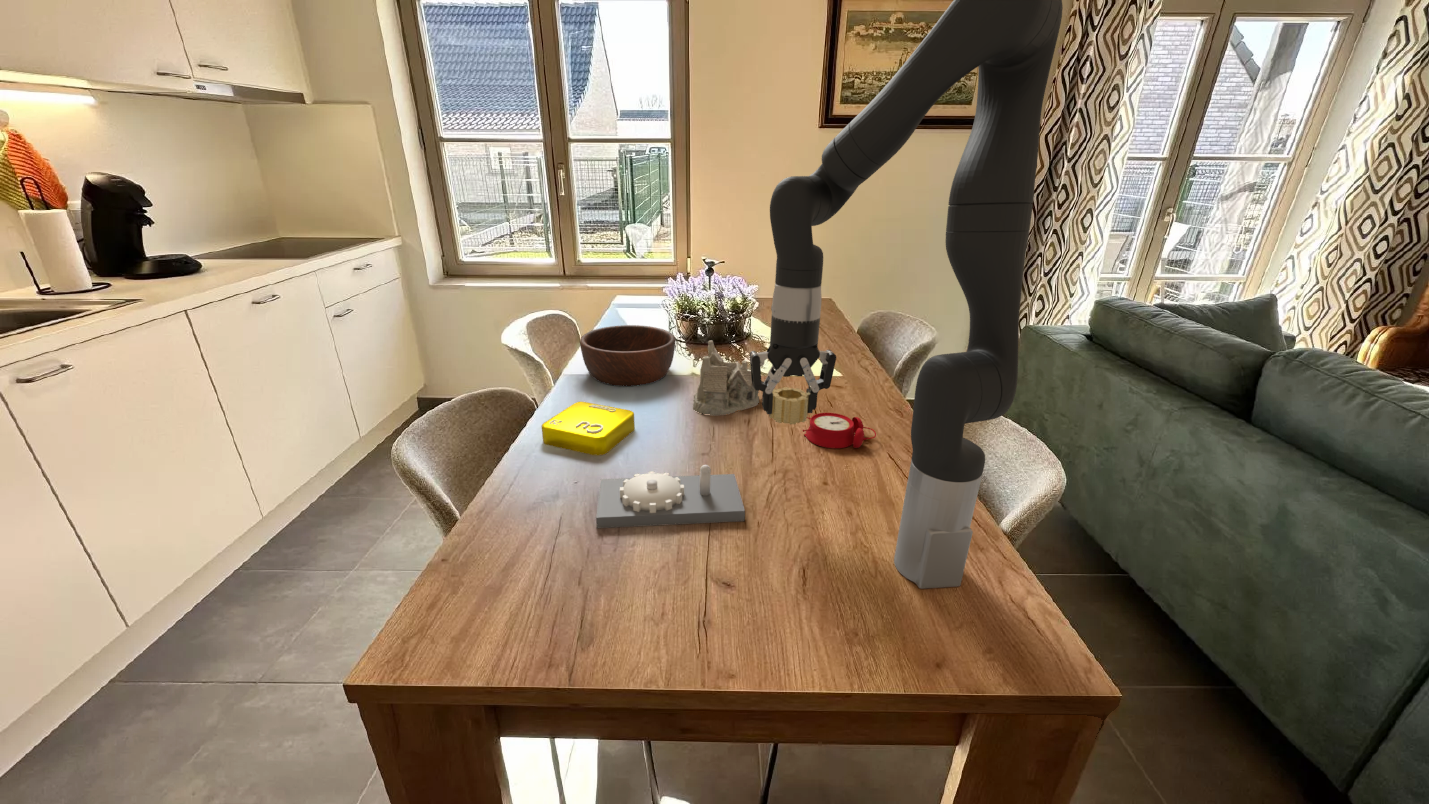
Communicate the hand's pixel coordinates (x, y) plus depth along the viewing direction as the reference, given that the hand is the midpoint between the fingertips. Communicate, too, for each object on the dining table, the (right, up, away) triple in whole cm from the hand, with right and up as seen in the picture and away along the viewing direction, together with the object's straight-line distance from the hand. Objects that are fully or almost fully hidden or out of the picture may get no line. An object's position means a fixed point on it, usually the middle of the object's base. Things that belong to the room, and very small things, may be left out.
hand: (788, 411), depth 98 cm
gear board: (-20, -16, +3) cm, 26 cm away
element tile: (-39, -6, +28) cm, 48 cm away
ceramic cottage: (-10, +1, +45) cm, 46 cm away
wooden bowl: (-35, +9, +62) cm, 72 cm away
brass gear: (0, -1, 0) cm, 1 cm away
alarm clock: (+14, -7, +29) cm, 33 cm away
